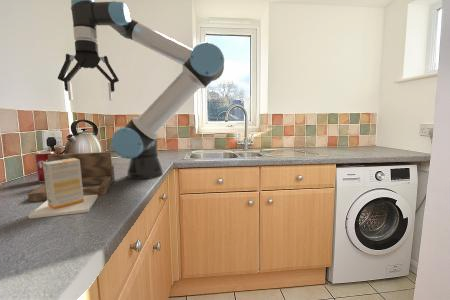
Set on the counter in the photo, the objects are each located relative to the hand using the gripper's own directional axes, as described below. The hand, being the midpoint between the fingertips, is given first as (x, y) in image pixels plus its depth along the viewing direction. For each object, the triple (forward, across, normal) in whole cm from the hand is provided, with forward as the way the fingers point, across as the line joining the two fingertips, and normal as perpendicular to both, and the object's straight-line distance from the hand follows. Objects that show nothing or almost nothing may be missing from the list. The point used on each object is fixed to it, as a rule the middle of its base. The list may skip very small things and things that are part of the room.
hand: (91, 100), depth 95 cm
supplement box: (+32, +5, +25) cm, 41 cm away
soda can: (+33, +21, -13) cm, 41 cm away
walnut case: (+33, +6, +6) cm, 34 cm away
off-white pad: (+33, +5, +26) cm, 42 cm away
